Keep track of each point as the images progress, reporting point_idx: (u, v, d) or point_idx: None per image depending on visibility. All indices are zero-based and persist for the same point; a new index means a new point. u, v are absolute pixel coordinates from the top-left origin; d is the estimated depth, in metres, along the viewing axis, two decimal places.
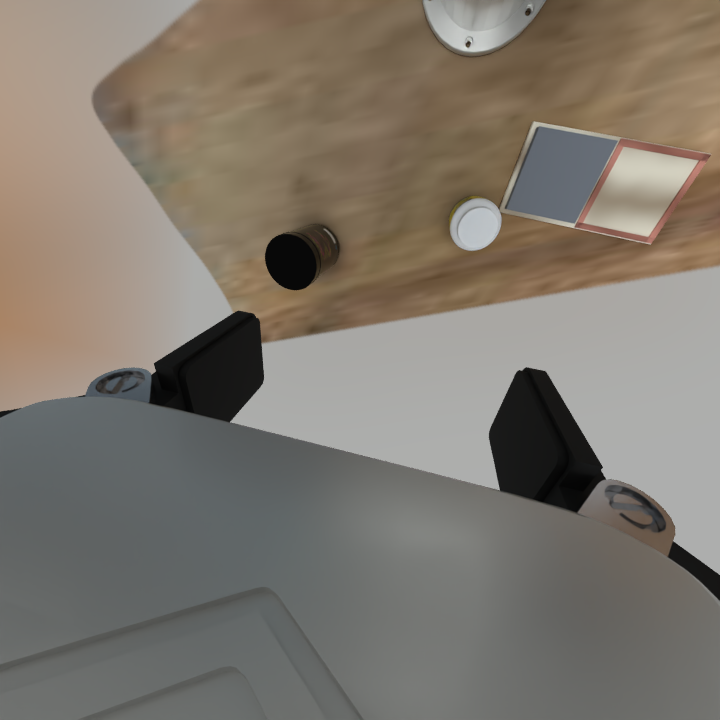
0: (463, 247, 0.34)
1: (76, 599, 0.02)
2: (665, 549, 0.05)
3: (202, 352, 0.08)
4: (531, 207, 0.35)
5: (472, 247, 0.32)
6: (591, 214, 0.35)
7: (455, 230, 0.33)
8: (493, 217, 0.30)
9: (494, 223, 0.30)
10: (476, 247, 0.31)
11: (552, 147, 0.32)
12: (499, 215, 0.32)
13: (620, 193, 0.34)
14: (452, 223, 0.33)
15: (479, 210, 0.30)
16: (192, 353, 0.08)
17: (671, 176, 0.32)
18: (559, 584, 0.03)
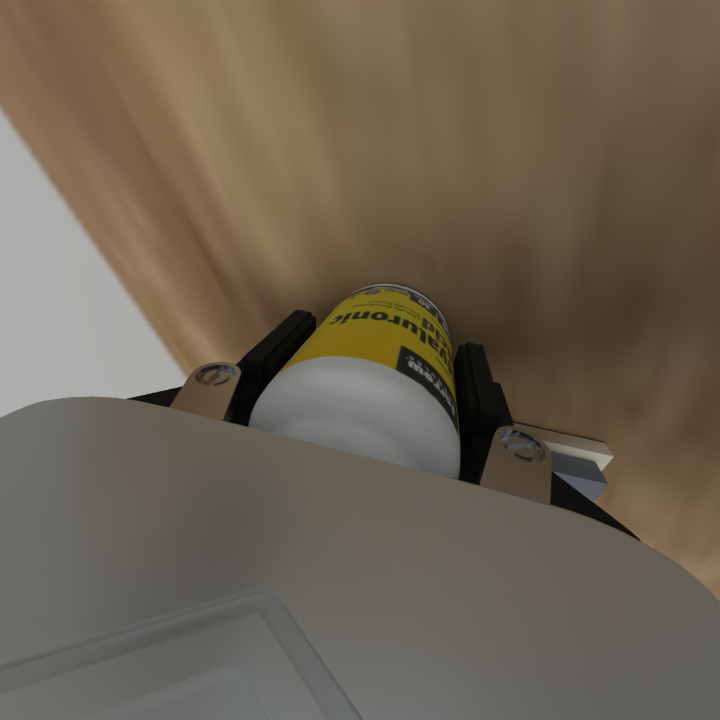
0: None
1: (76, 599, 0.02)
2: (548, 473, 0.06)
3: (278, 348, 0.09)
4: None
5: None
6: None
7: (308, 408, 0.06)
8: None
9: None
10: None
11: None
12: None
13: None
14: (342, 385, 0.06)
15: None
16: (271, 349, 0.08)
17: None
18: (559, 584, 0.03)
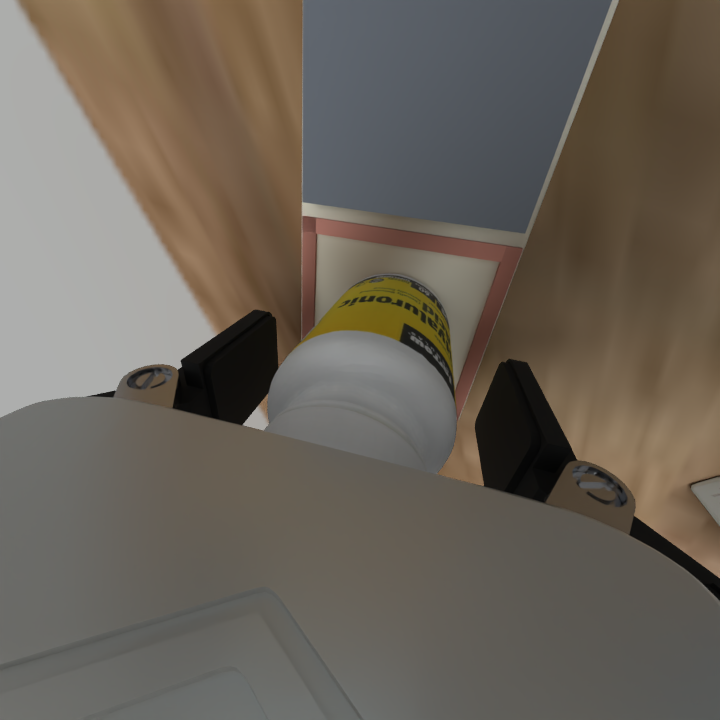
0: (269, 401, 0.08)
1: (75, 599, 0.02)
2: (628, 522, 0.05)
3: (225, 349, 0.08)
4: None
5: None
6: (338, 250, 0.13)
7: (324, 373, 0.07)
8: None
9: None
10: None
11: None
12: None
13: None
14: (354, 352, 0.07)
15: None
16: (216, 351, 0.08)
17: None
18: (559, 584, 0.03)
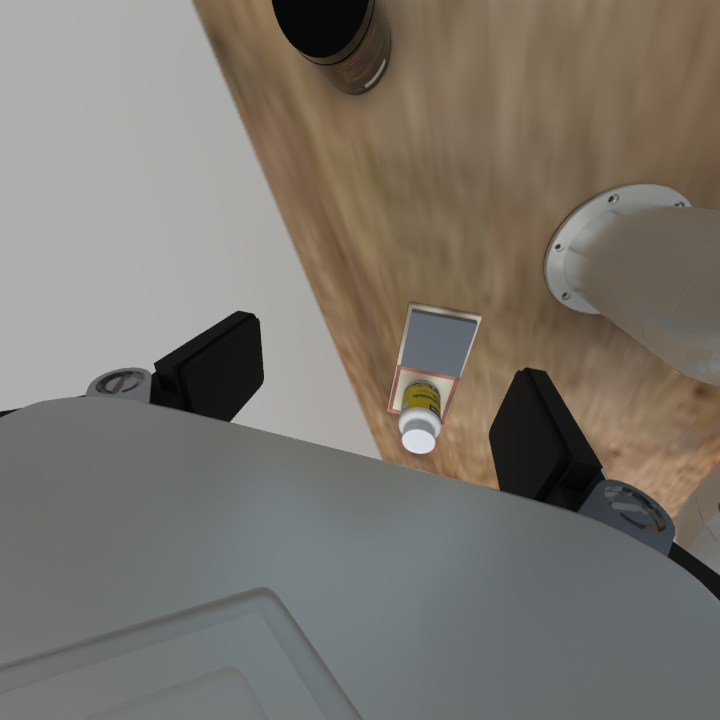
0: (401, 421, 0.38)
1: (76, 599, 0.02)
2: (665, 549, 0.05)
3: (202, 352, 0.08)
4: (413, 331, 0.38)
5: (403, 439, 0.36)
6: (407, 373, 0.43)
7: (415, 416, 0.37)
8: (427, 450, 0.36)
9: (422, 451, 0.36)
10: (403, 441, 0.36)
11: (459, 337, 0.37)
12: None
13: None
14: (421, 412, 0.37)
15: (433, 442, 0.35)
16: (192, 353, 0.08)
17: None
18: (559, 584, 0.03)
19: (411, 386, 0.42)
